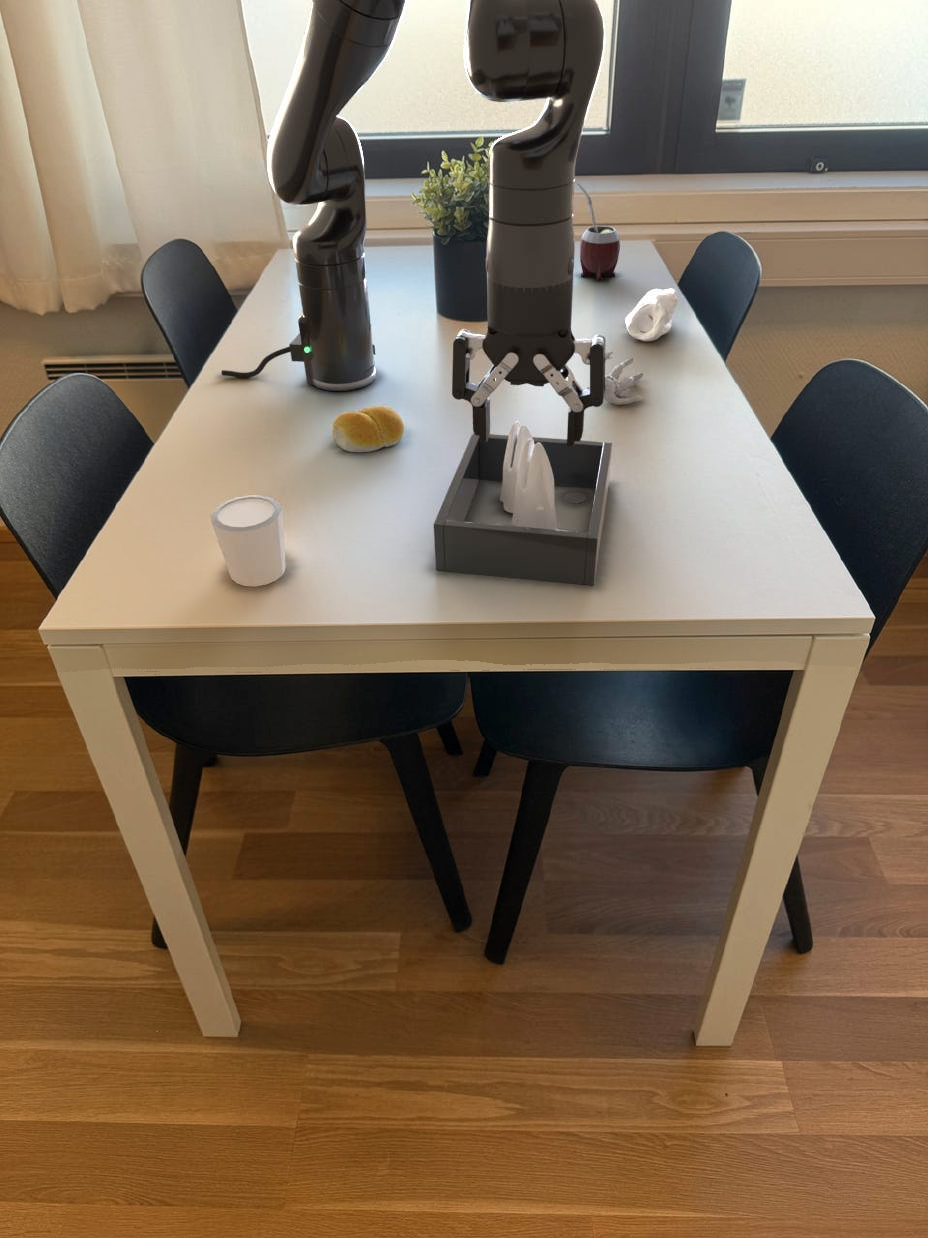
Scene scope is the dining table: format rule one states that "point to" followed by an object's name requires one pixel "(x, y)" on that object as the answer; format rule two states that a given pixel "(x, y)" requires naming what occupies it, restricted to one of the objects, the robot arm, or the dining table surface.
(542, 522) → the shaker set
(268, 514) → the white cylinder
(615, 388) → the soldier figure
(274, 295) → the dining table surface
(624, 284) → the dining table surface
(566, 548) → the grey open box
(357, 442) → the bread roll
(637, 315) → the white irregular lump
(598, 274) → the mate gourd
